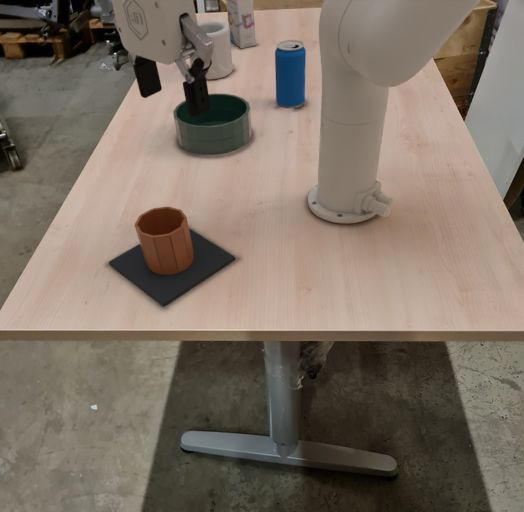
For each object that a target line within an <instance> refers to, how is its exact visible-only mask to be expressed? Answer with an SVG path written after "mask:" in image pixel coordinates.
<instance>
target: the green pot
mask: <svg viewBox="0 0 524 512" xmlns="http://www.w3.org/2000/svg"><path fill="white" fill-rule="evenodd" d="M208 94H209V100H210V108H209V109H208V110H206V111H205V112H203V113H201V114H199V115H197V116H195V117H191V116H189V114H188V109H187V104H186V99H185V100H183V101H181V102H180V103H179V104H178V105H176V106H175V108H174V109H173V112H172V113H173V120H174V127H175V130H176V131H175V132H176V136H177V141H178V144H179V146H180V147H181V148H182V149H183V150H185V151H187V152H189V153H193V154H196V155H205V156H210V155H211V156H213V155H223V154H226V153H230V152H231V153H232V152H233V151H237V150H239V149H241V148H243V147H244V146H245V145H247V143H249V141H250V140H251V138H252V136H253V131H252V117H251V115H252V114H251V106H250V104H249V102H248V101H247V100H246V99H245V98H243V97H241V96H238V95H235V94H230V93H208Z"/></svg>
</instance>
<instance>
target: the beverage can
mask: <svg viewBox="0 0 524 512" xmlns="http://www.w3.org/2000/svg"><path fill="white" fill-rule="evenodd" d="M306 56H307V51H306V47H305V43H304V42H303V41H301V40H297V39H287V40H286V39H285V40H282V41H279V42H278V43H276V49H275V51H274V67H275V68H274V69H275V70H274V71H275V101H276V104H277V105H278V106H280V107H282V108H292V109H297V108H300V107H301V106H302V105H303V104H304V103H305V101H306V65H307V64H306V59H307V57H306Z"/></svg>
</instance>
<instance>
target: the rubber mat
mask: <svg viewBox="0 0 524 512" xmlns="http://www.w3.org/2000/svg"><path fill="white" fill-rule="evenodd" d="M189 231H190V237H191V242H192V247H193V252H194V255H193V261H192V263H191V265H190V266H189V267H188V268H187V269H185V270H183V271H182V272H179V273H176V274H172V275H161V274H157V273H154V272H152V271H151V270H150V269H149V268H148V266H147V263H146V261H145V259H144V255H143V252H142V249H141V245H140V243H138V244H137V245H136V246H134V247H132V248H130V249H128V250H126V251H125V252H123V253H121V254H119V255H118V256H116V257H114V258H113V259H111V260H109V261H108V264H109V266H111V267H112V268H114V269H115V270H116V271H117V272H119V274H121V275H122V276H123V277H125V278H126V279H127V280H128V281H130V282H131V283H132V284H134V285H135V286H136V287H137V288H139V289H140V290H141V291H142V292H144V293H145V294H146V295H147V296H149V297H150V298H151V299H153V300H154V301H156V302H157V303H158V304H159V305H161V306H162V307H163V308H164V307H167V305H169V304H170V303H172V302H174V301H176V299H178V298H179V297H181V296H183V295H184V294H186V293H187V292H189V291H190V290H192V289H194V288H195V287H196V286H198V285H199V284H200V283H203V282H204V281H205V280H207V279H209V278H210V277H211V276H213V275H215V274H216V273H217V272H220V270H222V269H223V268H226V267H227V266H228V265H230V264H231V263H233V262H234V261H236V257H235V255H233V254H231V253H230V252H228V251H227V250H225V249H223V248H222V247H219V245H217V244H216V243H214V242H212V241H210V240H209V239H207V238H206V237H204V236H203V235H201V234H199V233H198V232H196V231H194V230H193V229H192V228H190V227H189Z"/></svg>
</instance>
